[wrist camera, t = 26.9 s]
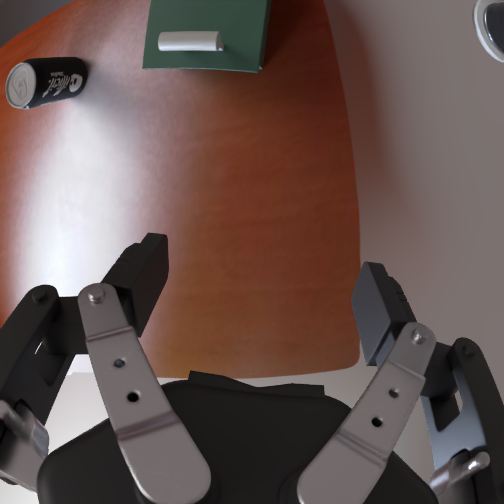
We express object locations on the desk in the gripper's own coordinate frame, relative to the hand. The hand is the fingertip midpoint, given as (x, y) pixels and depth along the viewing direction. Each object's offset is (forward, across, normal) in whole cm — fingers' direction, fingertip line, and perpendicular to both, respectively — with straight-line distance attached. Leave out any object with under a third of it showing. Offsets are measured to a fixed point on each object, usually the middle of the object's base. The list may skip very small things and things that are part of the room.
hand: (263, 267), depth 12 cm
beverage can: (+30, +30, -8) cm, 43 cm away
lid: (+21, +8, -15) cm, 27 cm away
